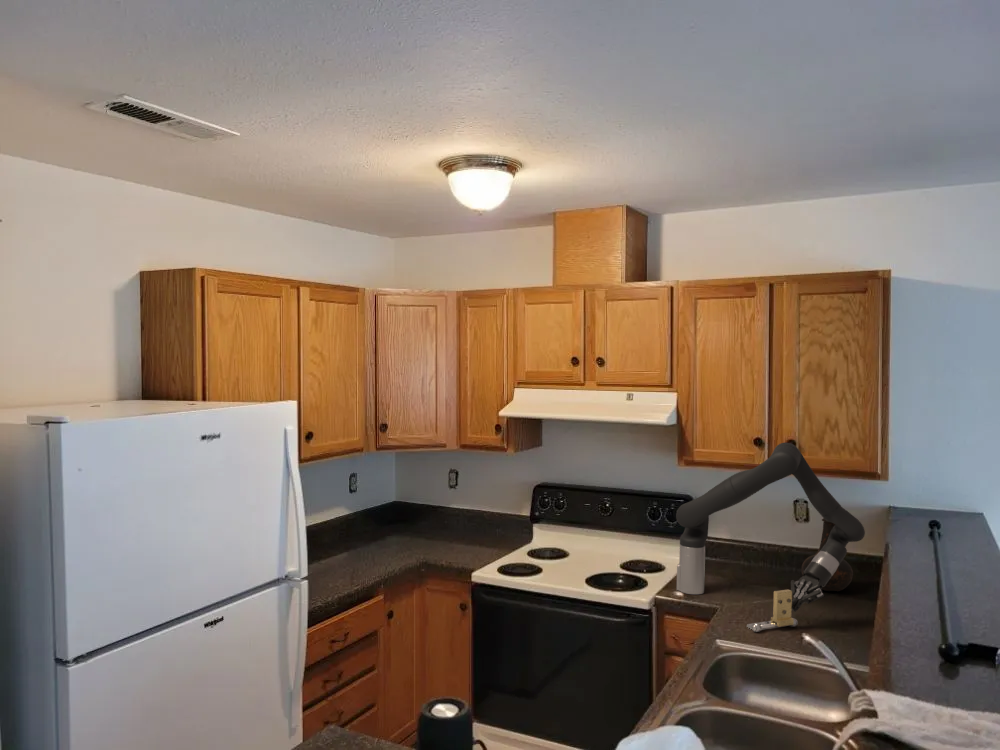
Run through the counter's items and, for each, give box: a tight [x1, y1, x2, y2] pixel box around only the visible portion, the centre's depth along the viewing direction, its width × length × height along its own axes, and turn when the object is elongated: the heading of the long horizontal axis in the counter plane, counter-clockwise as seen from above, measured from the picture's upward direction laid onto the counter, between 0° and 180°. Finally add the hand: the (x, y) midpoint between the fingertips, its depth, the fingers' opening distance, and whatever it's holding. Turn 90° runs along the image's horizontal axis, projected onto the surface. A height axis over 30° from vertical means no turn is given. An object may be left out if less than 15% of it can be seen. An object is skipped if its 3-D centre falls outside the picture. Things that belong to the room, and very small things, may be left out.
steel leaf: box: [746, 617, 799, 633], centre depth 241 cm, size 17×6×3 cm, turn 112°
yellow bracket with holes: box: [770, 589, 794, 628], centre depth 241 cm, size 6×4×11 cm, turn 112°
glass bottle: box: [801, 517, 854, 592], centre depth 285 cm, size 18×18×28 cm
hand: (791, 609), depth 242 cm, fingers closed
